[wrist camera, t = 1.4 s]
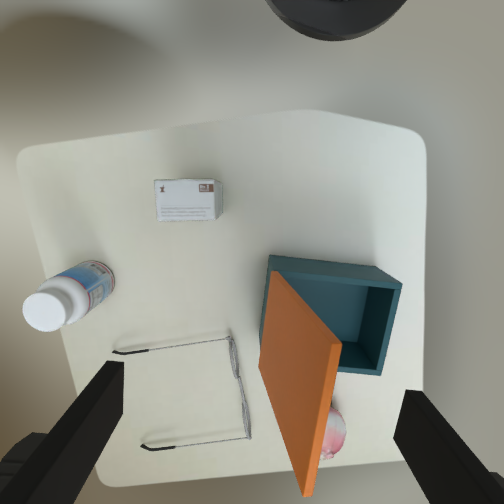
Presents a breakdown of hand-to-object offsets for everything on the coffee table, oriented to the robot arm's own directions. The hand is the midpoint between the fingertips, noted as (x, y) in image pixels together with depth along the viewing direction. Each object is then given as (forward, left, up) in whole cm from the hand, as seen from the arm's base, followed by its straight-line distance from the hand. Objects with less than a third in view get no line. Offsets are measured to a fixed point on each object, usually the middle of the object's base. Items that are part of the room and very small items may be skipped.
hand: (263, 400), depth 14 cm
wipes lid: (+5, +5, -14) cm, 15 cm away
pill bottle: (+10, -21, -30) cm, 38 cm away
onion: (+22, +17, -30) cm, 41 cm away
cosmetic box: (-6, -9, -30) cm, 32 cm away
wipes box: (+4, +11, -30) cm, 32 cm away
